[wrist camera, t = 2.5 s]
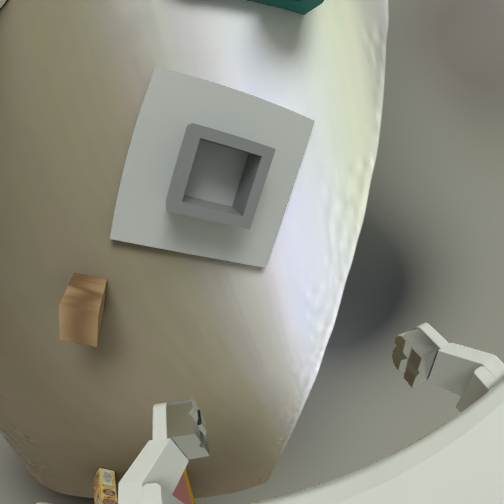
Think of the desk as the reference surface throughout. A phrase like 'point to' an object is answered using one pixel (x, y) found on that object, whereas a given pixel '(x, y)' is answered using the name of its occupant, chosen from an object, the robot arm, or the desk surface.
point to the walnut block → (82, 310)
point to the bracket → (292, 4)
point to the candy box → (105, 487)
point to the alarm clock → (184, 490)
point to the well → (208, 170)
